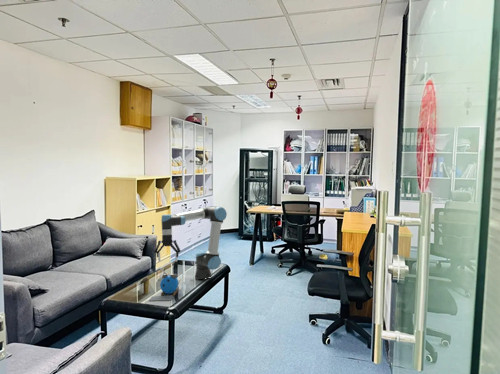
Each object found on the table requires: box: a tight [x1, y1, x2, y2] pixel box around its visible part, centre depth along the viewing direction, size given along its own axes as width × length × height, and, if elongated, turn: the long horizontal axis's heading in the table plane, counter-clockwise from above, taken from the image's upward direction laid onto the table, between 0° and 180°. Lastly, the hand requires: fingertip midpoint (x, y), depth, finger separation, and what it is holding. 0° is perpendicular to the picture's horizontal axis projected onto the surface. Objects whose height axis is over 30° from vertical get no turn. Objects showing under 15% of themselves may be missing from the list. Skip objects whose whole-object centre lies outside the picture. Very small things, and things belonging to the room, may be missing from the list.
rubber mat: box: [148, 295, 174, 302], centre depth 250 cm, size 16×8×1 cm, turn 88°
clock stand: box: [160, 285, 180, 297], centre depth 262 cm, size 10×15×2 cm, turn 178°
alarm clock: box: [159, 273, 180, 295], centre depth 261 cm, size 13×6×15 cm, turn 89°
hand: (167, 261), depth 261 cm, fingers open, 13 cm apart
